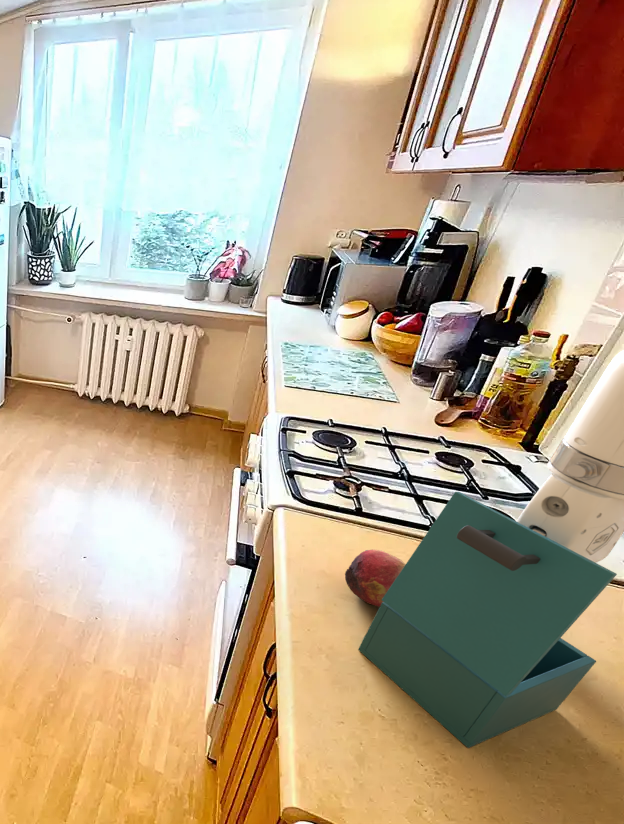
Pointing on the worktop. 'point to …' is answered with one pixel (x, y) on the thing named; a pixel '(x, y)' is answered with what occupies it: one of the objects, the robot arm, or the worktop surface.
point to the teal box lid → (493, 590)
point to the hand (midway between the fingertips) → (517, 596)
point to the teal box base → (468, 680)
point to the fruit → (373, 575)
